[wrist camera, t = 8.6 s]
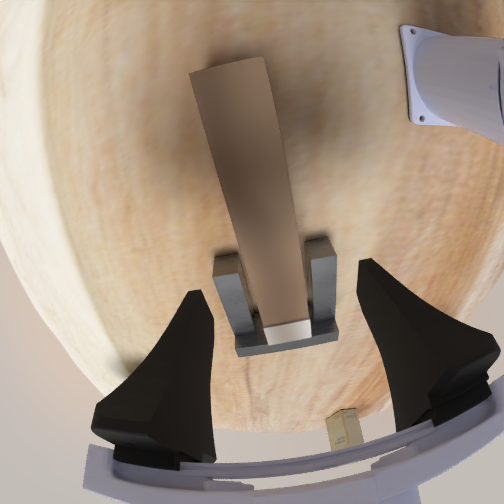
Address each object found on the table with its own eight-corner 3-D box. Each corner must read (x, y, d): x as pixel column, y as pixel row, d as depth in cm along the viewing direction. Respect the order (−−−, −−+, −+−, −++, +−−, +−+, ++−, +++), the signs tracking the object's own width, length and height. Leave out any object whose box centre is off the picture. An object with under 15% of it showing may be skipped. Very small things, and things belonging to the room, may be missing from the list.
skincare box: (340, 409, 46) (351, 461, 36) (357, 407, 47) (368, 457, 37) (324, 419, 49) (333, 468, 39) (340, 418, 50) (350, 465, 40)
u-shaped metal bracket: (327, 237, 22) (342, 267, 19) (328, 309, 27) (337, 340, 24) (214, 257, 23) (211, 290, 19) (238, 325, 28) (238, 357, 24)
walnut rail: (257, 63, 14) (264, 55, 10) (301, 293, 26) (311, 337, 21) (201, 76, 14) (186, 73, 10) (264, 301, 26) (268, 345, 22)
